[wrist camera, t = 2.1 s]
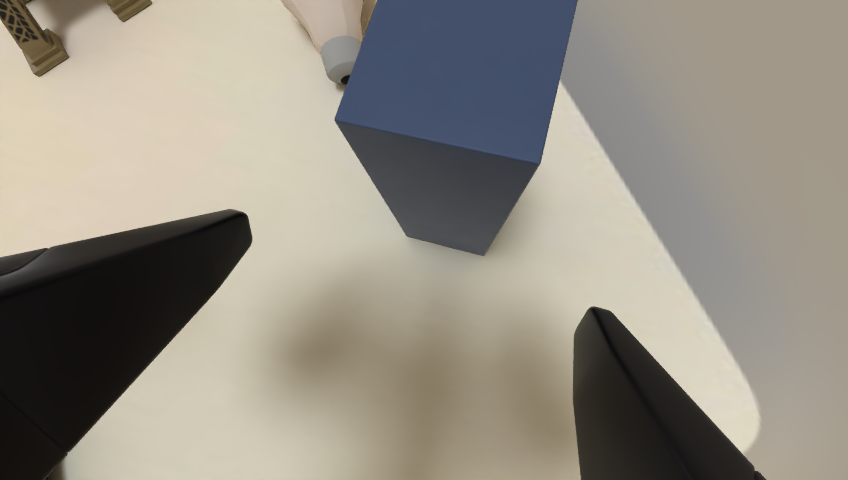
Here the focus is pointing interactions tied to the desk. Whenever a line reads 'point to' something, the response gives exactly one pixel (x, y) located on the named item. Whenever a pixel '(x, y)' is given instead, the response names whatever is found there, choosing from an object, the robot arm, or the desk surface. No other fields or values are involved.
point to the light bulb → (332, 32)
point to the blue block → (455, 109)
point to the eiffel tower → (45, 45)
